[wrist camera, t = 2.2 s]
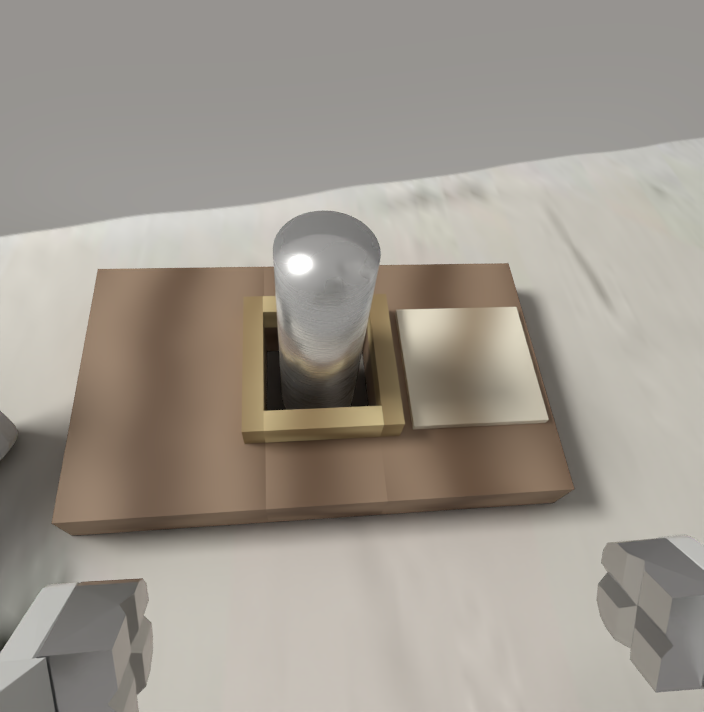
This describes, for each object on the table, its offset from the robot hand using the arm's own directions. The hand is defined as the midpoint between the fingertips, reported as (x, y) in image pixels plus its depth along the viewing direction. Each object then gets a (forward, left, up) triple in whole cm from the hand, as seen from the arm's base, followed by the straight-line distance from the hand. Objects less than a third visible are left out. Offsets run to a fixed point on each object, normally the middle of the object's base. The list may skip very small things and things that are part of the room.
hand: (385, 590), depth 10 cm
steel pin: (0, -12, -17) cm, 21 cm away
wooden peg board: (0, -12, -17) cm, 21 cm away
